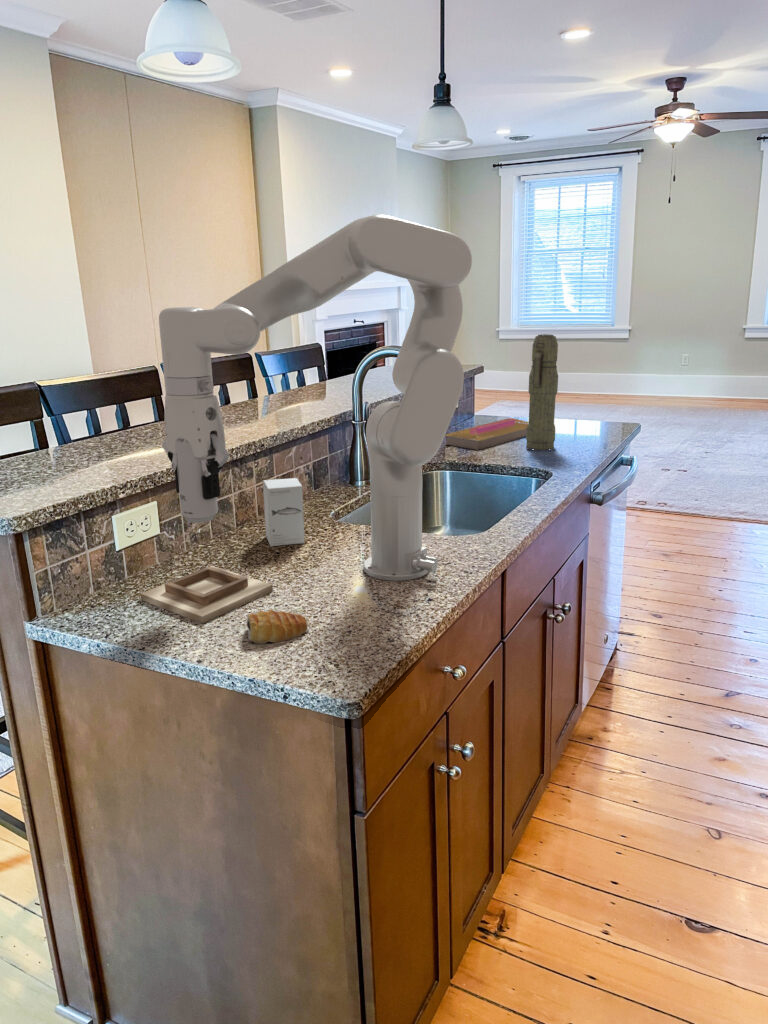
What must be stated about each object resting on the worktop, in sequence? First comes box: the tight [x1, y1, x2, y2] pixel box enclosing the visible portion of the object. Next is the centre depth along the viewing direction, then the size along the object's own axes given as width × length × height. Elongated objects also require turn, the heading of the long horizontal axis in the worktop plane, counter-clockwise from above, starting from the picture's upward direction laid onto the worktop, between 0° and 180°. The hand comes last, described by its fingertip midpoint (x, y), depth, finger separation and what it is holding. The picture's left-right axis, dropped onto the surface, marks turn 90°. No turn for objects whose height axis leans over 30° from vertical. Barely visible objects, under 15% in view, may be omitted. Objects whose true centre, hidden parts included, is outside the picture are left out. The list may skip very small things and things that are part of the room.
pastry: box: [246, 609, 308, 645], centre depth 118 cm, size 9×7×4 cm
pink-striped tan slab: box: [445, 417, 529, 451], centre depth 254 cm, size 35×14×6 cm, turn 137°
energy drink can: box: [175, 437, 219, 524], centre depth 127 cm, size 6×6×15 cm
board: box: [139, 565, 274, 624], centre depth 133 cm, size 16×16×3 cm
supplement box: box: [262, 477, 306, 548], centre depth 159 cm, size 7×7×13 cm
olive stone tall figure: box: [525, 333, 559, 451], centre depth 236 cm, size 9×12×35 cm
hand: (198, 493), depth 128 cm, fingers closed on energy drink can, 6 cm apart
